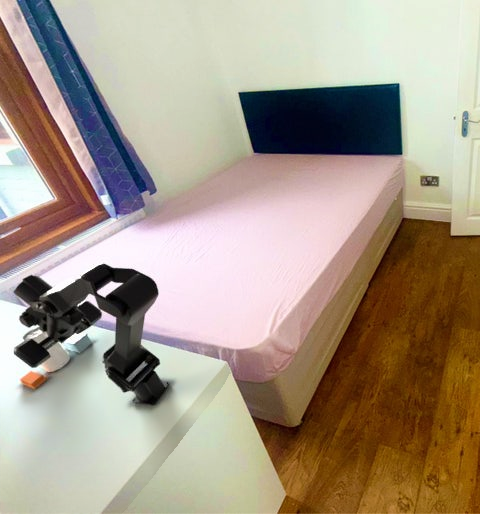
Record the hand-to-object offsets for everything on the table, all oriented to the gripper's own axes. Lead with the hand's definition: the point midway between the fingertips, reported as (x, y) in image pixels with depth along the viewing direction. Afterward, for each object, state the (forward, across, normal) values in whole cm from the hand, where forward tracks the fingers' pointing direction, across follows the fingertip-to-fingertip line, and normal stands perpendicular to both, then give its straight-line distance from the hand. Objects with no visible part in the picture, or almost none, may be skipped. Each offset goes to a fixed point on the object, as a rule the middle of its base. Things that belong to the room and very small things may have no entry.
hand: (60, 345), depth 94 cm
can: (+14, 0, 0) cm, 14 cm away
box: (+14, -7, 0) cm, 16 cm away
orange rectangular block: (+14, +7, 0) cm, 16 cm away
